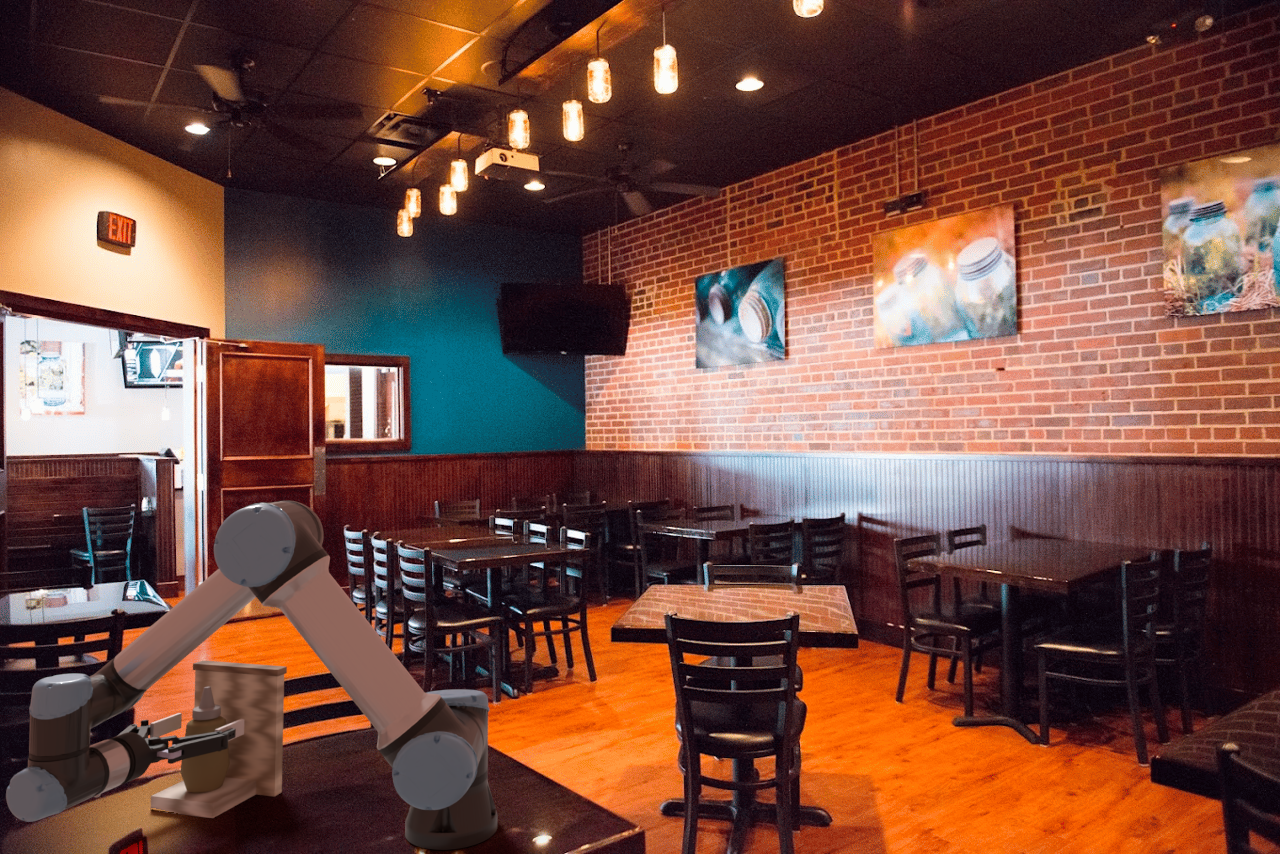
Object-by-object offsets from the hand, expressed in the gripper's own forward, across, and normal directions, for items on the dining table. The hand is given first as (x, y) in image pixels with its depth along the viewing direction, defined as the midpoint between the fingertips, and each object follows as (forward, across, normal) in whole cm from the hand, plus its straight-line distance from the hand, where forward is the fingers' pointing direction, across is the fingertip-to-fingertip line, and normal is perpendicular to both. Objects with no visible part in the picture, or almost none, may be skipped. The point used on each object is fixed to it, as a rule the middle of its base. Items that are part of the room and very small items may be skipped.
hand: (211, 723), depth 157 cm
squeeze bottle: (-1, 0, -11) cm, 11 cm away
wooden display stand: (0, +2, -14) cm, 14 cm away
